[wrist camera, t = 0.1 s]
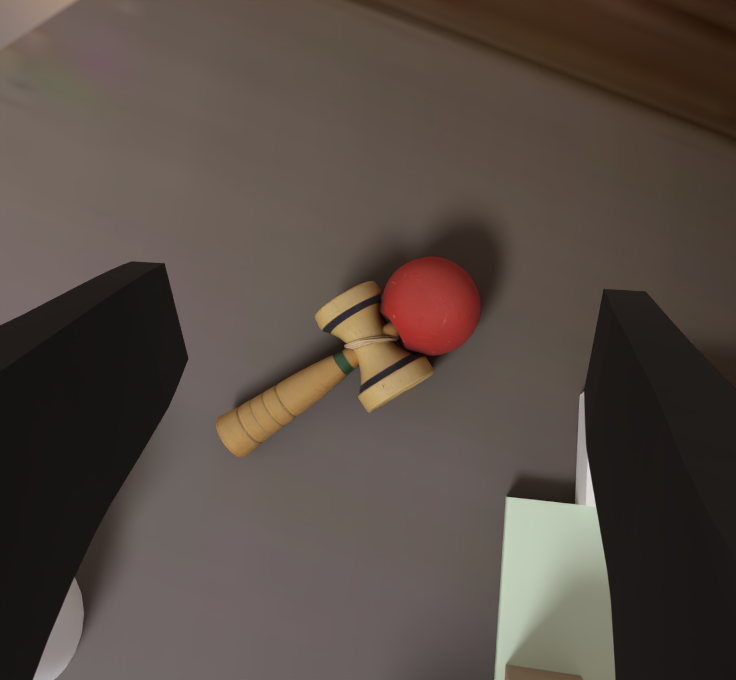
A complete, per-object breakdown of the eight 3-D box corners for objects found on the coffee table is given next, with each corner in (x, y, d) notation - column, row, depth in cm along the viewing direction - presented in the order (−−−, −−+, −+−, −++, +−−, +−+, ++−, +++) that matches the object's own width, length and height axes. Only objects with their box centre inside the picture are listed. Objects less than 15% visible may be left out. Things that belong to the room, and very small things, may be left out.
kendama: (282, 499, 45) (516, 344, 42) (230, 491, 39) (497, 311, 36) (237, 402, 48) (452, 252, 45) (183, 381, 42) (425, 209, 40)
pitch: (823, 896, 35) (867, 947, 31) (483, 831, 37) (485, 871, 34) (812, 414, 40) (849, 406, 36) (512, 389, 42) (517, 379, 38)
